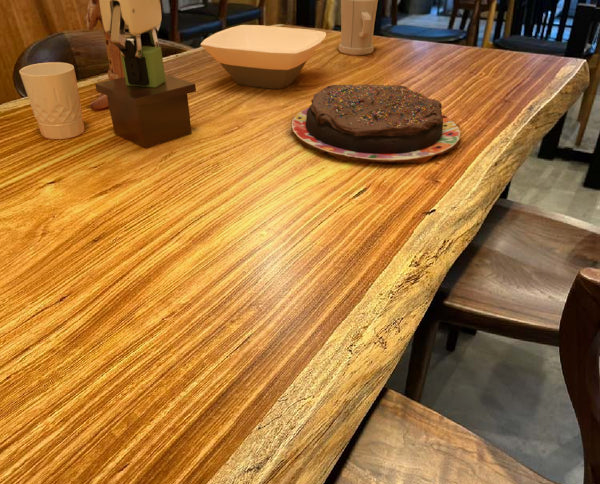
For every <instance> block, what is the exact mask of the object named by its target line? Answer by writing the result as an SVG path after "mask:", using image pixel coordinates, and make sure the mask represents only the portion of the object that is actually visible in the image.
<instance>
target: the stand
mask: <svg viewBox="0 0 600 484" xmlns="http://www.w3.org/2000/svg"><path fill="white" fill-rule="evenodd" d="M165 80H166V81H165V82H164V83H162V84H161V85H159V86H158V87H156V88H155V87H142V86H130V85H126V81H125V77H123V78H118V79H114V80H110V81H109V80H105V81H102V82H97V83H95V84H94V85H95V90H96V92H97V93H100V94H101V93H102V94H105V95H107V99H108V104H109V107H108V108H109V112H110V118H111V123H112V127H113V132H114V135H116V136H118V137H120V138H123V139H124V140H127V141H129V142H131V143H132V144H136V145H138V146H140V147H142V148H144V149H148V148H152V147H155V146H158V145H161V144H165V143H167V142H170V141H174V140H176V139H177V140H178V139H179V138H180V139H181V138H183V137H187V136H189V135H192V134H193V132H192V124H191V115H190V107H189V106H190V105H189V98H188V95H189V94H193V93H196V92H197V87H196V83H194V82H191V81H188V80H185V79H183V78H182V79H181V78H180V77H179V78H178V77H176V76H172V75H169V74H167V73H165Z"/></svg>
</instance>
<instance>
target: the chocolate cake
mask: <svg viewBox="0 0 600 484" xmlns="http://www.w3.org/2000/svg"><path fill="white" fill-rule="evenodd" d="M310 102H311V104H310V106H308V107H307V108H304V109H302V110H301V111H300V112H297V113H296V114H295V115H294V116H293V118H292V120H291V122H290V130H291V131H292V132H293V134H294V135H295V136H296V138H297V139H298V141H299V142H300V144H301V146H302V147H305V148H308V149H310V150H316V151H317V152H319V153H320V154H328V155H329V156H331V157H334V158H335V159H337V160H339V161H341V162H343V163H391V164H392V163H397V164H399V163H400V164H426V163H427V162H428V161H429V160H431V159H432V158H434V156H443V155H445V154H447V153H450V152H451V151H452V150H456V149H458V145H459V142H460V140H461V136H462V135H461V131H460V127H459V126H458V125H457V124H456V123H455V122H454V121H453V120H452V119H450V118H449V117H447V116H446V115H444V114H443V111H442V110H443V109H442V108H443V105H442V103H441V101H439V100H436V99H435V98H433V99H432V98H430V97H427V96H425V95H424V94H423V93H421V92H418V91H413V90H412V89H409V88H408V87H406V86H405V85H395V84H392V85H389V84H388V85H386V84H385V85H384V84H332V85H327V86H326V87H324V88H322V89H321V90H320V91H318V92H316V93H314V95H313V97H312V99H311V100H310Z"/></svg>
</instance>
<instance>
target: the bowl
mask: <svg viewBox="0 0 600 484" xmlns="http://www.w3.org/2000/svg"><path fill="white" fill-rule="evenodd" d="M326 37H327V32H326V31H321V30H314V29H308V28H295V27H287V26H286V27H285V26H273V25H263V24H262V25H260V24H257V25H256V24H240V25H236V26H232V27H228V28H226V29H223V30H220V31H216V32H215V33H213V34H211V35H209V36H207V37H206V38H205V39H203V40H202V42H201V43H200V44H199V45H200V46H201V48H203V50H205V52H206V53H208V54H209V55H210V56H211V57H212V58H213V59H214V60H215V61H216V62H217V63H219V64H220V65H221V66H222V67H223V69H224V70H225V71H226V72H227V73H228V75H229V76H230V77H231V79H233V81H234V82H235V83H236V84H237V85H240V86H245V87H252V88H259V89H260V88H261V89H272V90H273V89H274V90H281V89H284V88H286V87H288V86H289V85H291V84H292V83H294V82H295V80H296V79H297V77H298V76H299V74H301V73H300V72H301V71H302V69H303V68H304V67H305V65H306V63H307V62H308V60H309V59H310V58H311V56H312V55H313V54H314V53H315V52H316V50H317V49H318V48H319V47H320V45H321V44H322V43H323V42H324V41H325V39H326Z"/></svg>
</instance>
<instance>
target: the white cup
mask: <svg viewBox="0 0 600 484" xmlns="http://www.w3.org/2000/svg"><path fill="white" fill-rule="evenodd" d="M18 73H19V75H20V79H21V81H22V84H23V87H24V90H25V93H26V96H27V99H28V101H29V105H30V107H31V109H32V114H33V116H34V117H35V119H36V122H37V125H38V129H39V132H40V134H41V136H42V137H44V138H45V139H50V140H65V139H66V140H67V139H72V138H75V137H77V136H80V135H82V134H84V133H85V122H84V119H83V109H82V103H81V97H80V92H79V85H78V81H77V76H76V70H75V67H74V65H73V64H71V63H68V62H62V61H61V62H60V61H53V62H51V61H50V62H39V63H34V64H29V65H26V66H24V67H22V68H20V69H19V71H18Z"/></svg>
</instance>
